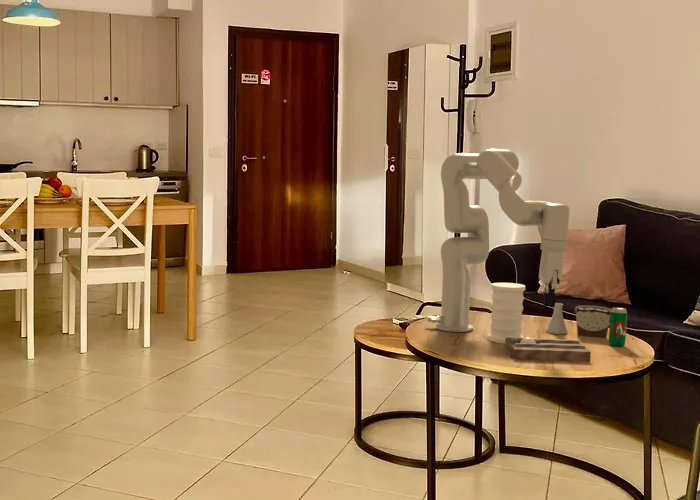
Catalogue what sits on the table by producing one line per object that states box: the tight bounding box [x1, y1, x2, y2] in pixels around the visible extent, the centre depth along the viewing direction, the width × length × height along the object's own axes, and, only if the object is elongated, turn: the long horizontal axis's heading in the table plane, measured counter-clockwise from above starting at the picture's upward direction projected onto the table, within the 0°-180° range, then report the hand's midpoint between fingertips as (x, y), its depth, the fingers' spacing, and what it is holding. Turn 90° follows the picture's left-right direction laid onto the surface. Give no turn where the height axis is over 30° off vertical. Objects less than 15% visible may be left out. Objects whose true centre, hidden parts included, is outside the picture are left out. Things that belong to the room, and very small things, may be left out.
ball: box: [520, 336, 536, 344], centre depth 242 cm, size 5×5×5 cm
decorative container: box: [487, 282, 526, 344], centre depth 260 cm, size 12×12×18 cm
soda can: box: [608, 307, 628, 348], centre depth 257 cm, size 5×5×12 cm
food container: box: [573, 304, 612, 340], centre depth 271 cm, size 12×6×10 cm, turn 71°
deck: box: [504, 338, 592, 363], centre depth 242 cm, size 22×16×4 cm
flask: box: [545, 302, 568, 335], centre depth 275 cm, size 7×7×10 cm
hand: (548, 305), depth 241 cm, fingers closed
